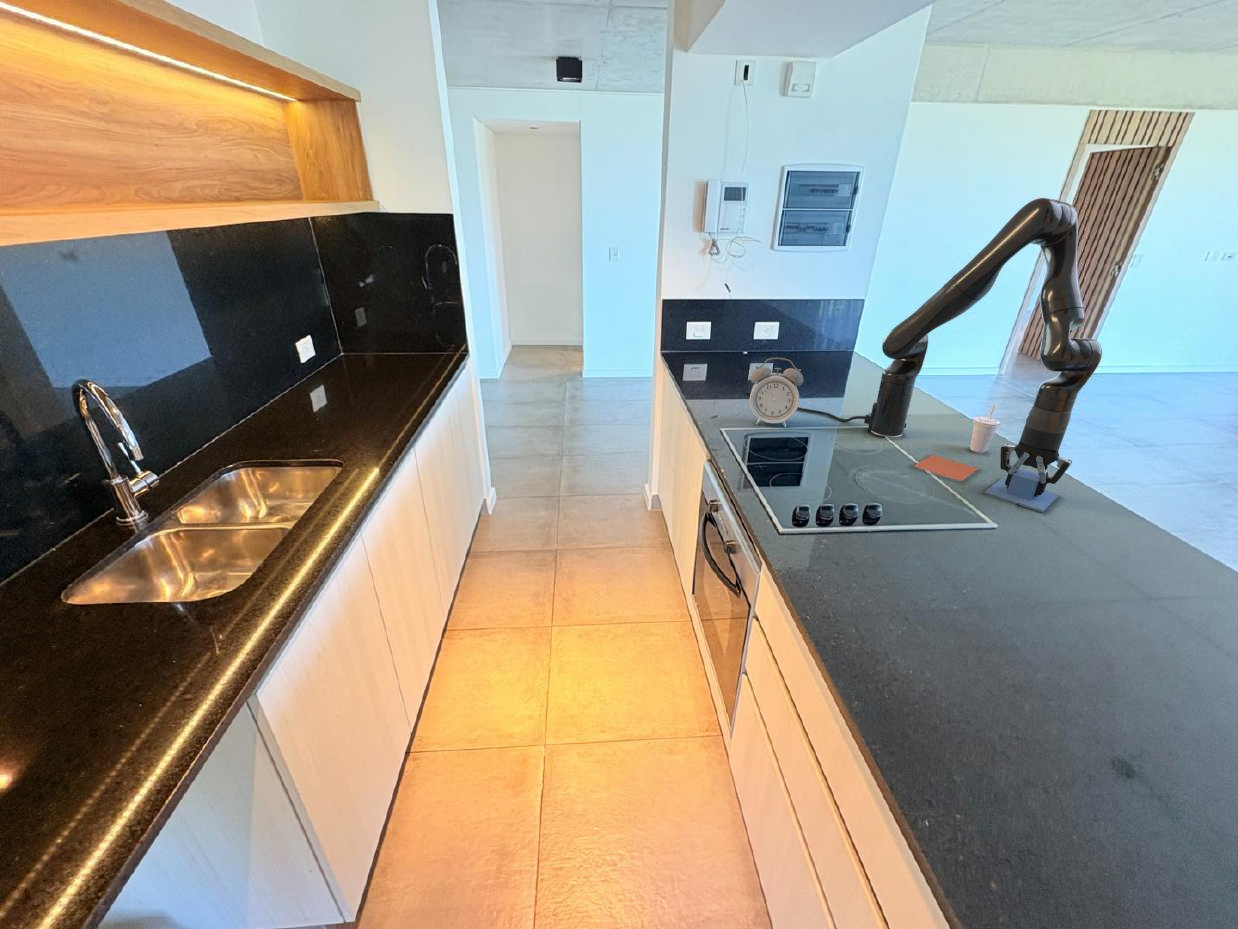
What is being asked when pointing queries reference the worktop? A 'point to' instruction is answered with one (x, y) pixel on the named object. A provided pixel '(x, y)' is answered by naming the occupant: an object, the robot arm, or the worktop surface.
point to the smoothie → (983, 432)
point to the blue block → (1023, 484)
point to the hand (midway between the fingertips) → (1022, 491)
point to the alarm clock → (775, 393)
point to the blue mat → (1035, 504)
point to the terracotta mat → (946, 467)
